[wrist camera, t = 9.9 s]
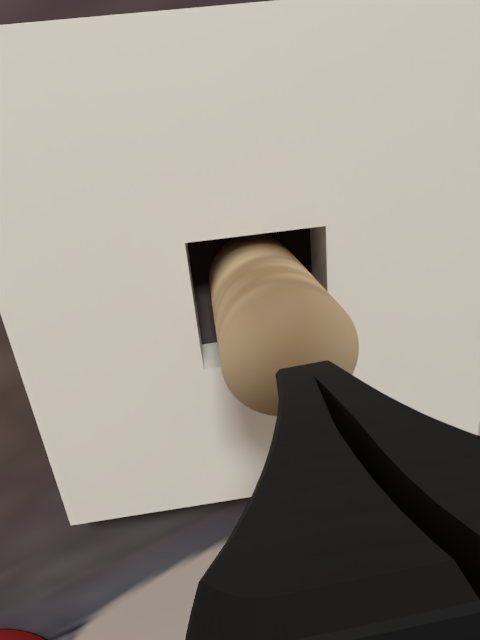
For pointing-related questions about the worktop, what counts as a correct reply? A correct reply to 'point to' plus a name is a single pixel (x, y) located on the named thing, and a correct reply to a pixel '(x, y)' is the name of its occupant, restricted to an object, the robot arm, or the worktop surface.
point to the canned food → (18, 635)
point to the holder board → (230, 221)
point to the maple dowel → (272, 319)
